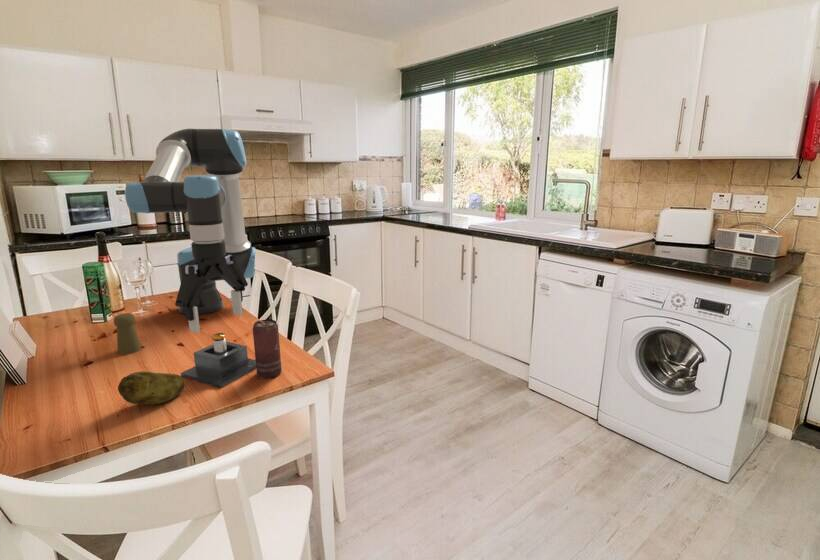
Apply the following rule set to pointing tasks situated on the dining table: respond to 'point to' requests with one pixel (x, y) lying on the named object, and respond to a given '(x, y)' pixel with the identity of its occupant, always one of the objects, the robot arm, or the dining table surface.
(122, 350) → the cork
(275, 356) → the can
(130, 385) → the green avocado
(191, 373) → the post
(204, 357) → the grey open square box
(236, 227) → the robot arm
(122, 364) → the dining table surface
